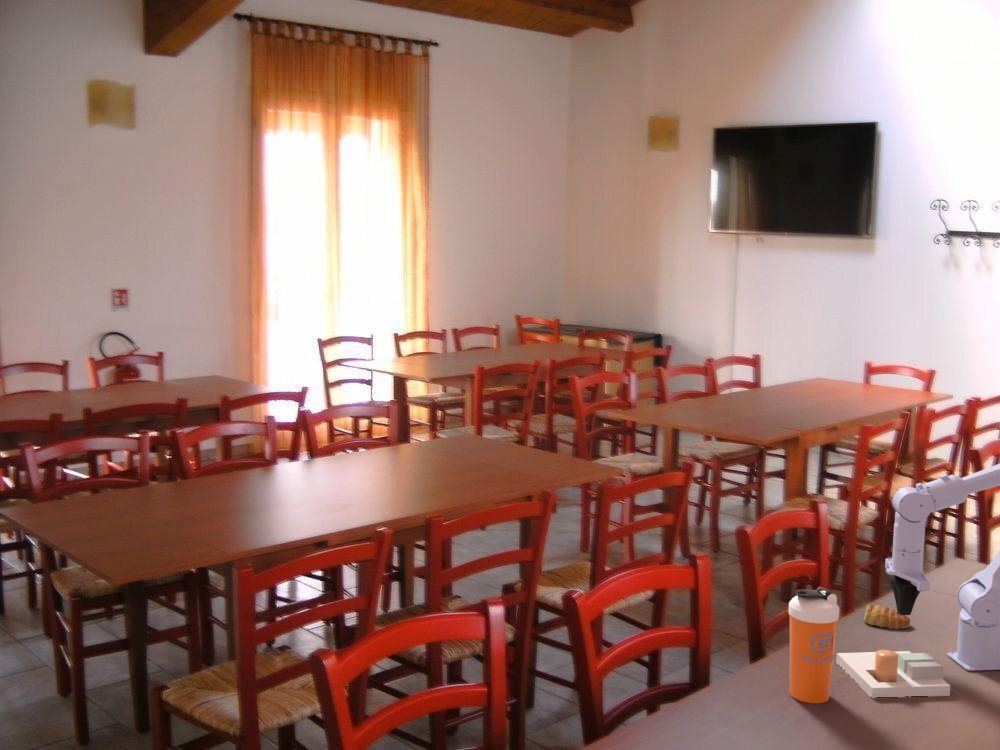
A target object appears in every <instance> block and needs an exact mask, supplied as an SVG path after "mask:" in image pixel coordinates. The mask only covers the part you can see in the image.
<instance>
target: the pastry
mask: <svg viewBox="0 0 1000 750" xmlns="http://www.w3.org/2000/svg"><path fill="white" fill-rule="evenodd" d="M864 613H865V614H864V616H863V617H864V618H863V622H865V623H866V624H868V625H869V624H871V625H870V626H872V625H874V626H878V627H879V626H880V627H879V628H882V627H891V628H902V629H905V628H906V629H908V628H909V627H910V624H911V618H910V617H909V616H908V615H900V614H899V613H898V611H897V610H895V609H893V608H890V607H888V606H882V605H879V604H877V605H873V604H870V603H869V604H867V605H866V609H865V612H864ZM891 628H890V629H891Z"/></svg>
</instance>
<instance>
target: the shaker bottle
mask: <svg viewBox="0 0 1000 750" xmlns="http://www.w3.org/2000/svg"><path fill="white" fill-rule="evenodd" d="M794 594H795V596H794V597H792V599H791V600H789V602H788V612H787V613H788V615H789V694H790V696H791V697H792V698H793V699H795V700H797V701H799V702H802V703H807V704H814V705H816V704H823V703H826V702H828V701H829V700H830V697H831V695H830V694H831V688H832V687H831V686H832V678H833V677H832V676H833V669H834V668H833V667H834V659H835V658H834V657H835V648H836V638H837V629H838V628H837V627H838V621H839V619H840V606H839V605H838V604H837V602H838V596H837V595H836V594H835V593H833V592H832V591H830V590H829V589H827V588H824V587H822V586H818V587H817V589H805V588H804V589H796V590H795V591H794Z"/></svg>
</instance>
